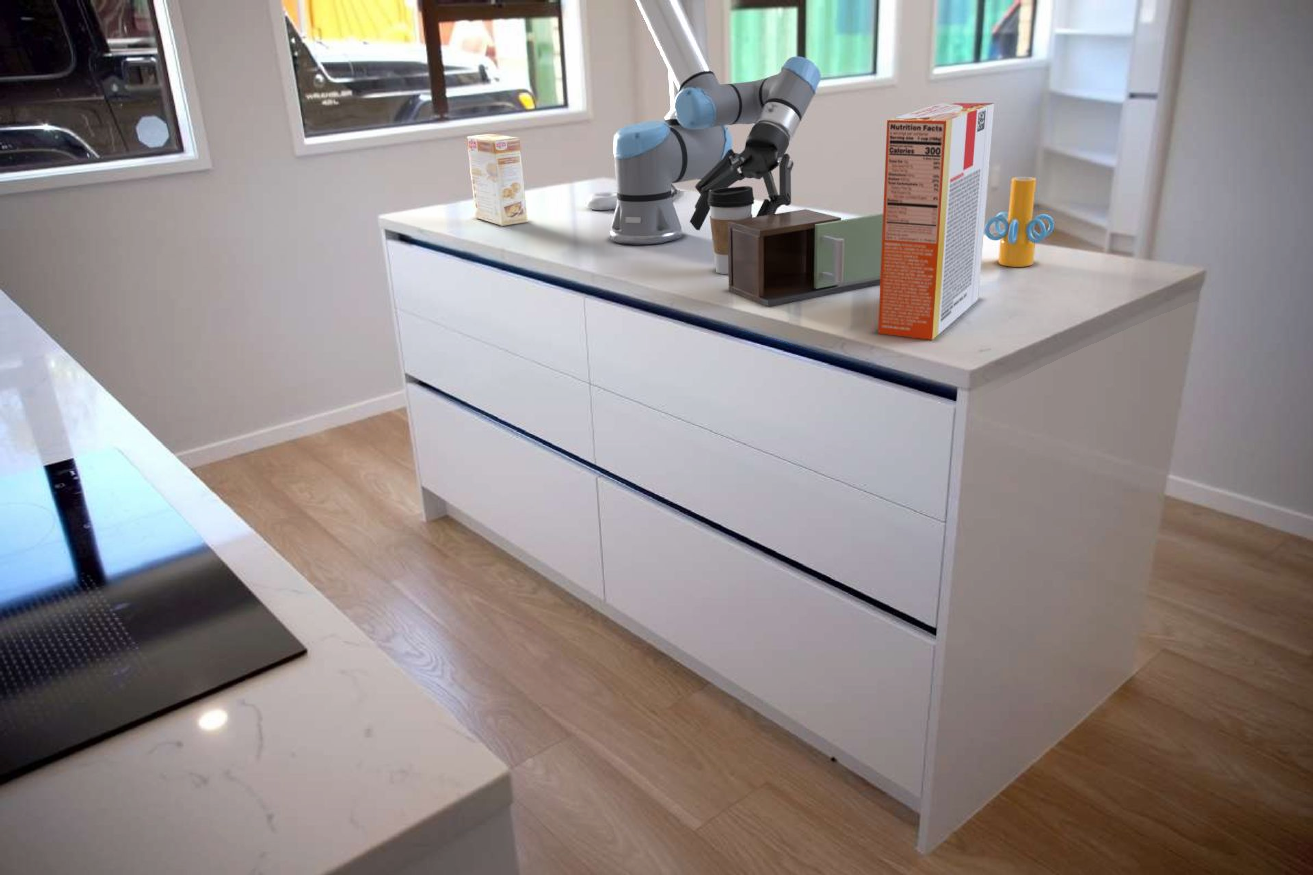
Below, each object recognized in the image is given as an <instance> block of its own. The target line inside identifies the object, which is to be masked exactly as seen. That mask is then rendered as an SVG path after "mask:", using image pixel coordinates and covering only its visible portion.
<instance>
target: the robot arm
mask: <svg viewBox="0 0 1313 875" xmlns="http://www.w3.org/2000/svg"><path fill="white" fill-rule="evenodd" d="M635 1H636V4H637V6H638V8H639V10H640V12H641V14H642V16H643V18H644V20H645V23H646V25H647V27H648V30H649V31H650V34H651V35H652V37H653V40H654V42H655V45H656V46H657V49H658V51H659V53H660V55H661V58H662V59H663V61H664V64H665V66H666V68H667V69H668V84H669V96H670V97H669V98H670V109H669V111H668V112H667V114H665V115H664V121H663V120H651V121H645V122H637V123H633V124H629V125H627V126H623V127H622V128H619V129H618V130H617V131H616V132H615V134H614V136H613V152H612V154H613V157H614V172H615V189H616V192H617V206H616V209H614V214H613V219H612V222H611V227H610V229H609V230H610V240H611V241H612V242H614V243H617V244H622V245H634V246H635V245H638V246H641V245H642V246H644V245H645V246H646V245H658V244H663V243H664V244H665V243H669V242H673V241H676V240H679V239H680V238H681V237H682V234H683V233H682V225H681V222H680V219H679V216H678V214H677V210H676V208H675V205H674V203H673V199H672V198H674V197H675V196H676V195H677V193H678V190H677V188H676V187H675V186H674V184H677V183H682V182H683V183H684V182H689V181H695V180H699V181H698V182H697V183H696V184H695V186H694V188H695V189H696V191H697V192H698V193H699V197H698V199H697V201H696V202H695V205H694V209H695V210H694V211H693V214H692V216H691V218H690V220H689V223H690V225H691V226H692V227H693V228H694V229H695V231H700V230H701V228H702V226H703V224H704V223H705V220H706V218H707V216H708V214H709V212H710V206H709V205H708V201H707V200H708V196H709V191H711V190H714V189H720V188H730V186H731V187H732V185H733V184H735V183H737V182H738V181H743V180H744V179H745V178H746V179H755V180H761V179H762V180H763V182H764V185H765V189H766V192H767V195H768V196H767V197H768V198H769V199H768V198H764V199H763V202H762V203H761V206H760V208H759V210H758V212H757V213H756V215H755V217H759V216H765V215H772V214H777V210H778V209H779V208H780V207H781V206H783V205H785V206H787V207H789V206H790V205H791V204H792V174H791V173H792V171H793V167H794V163H795V162H794V161H793V160H792V157H791V156H790V154H788V153H786V152H787V150H788V149H789V145H790V143H791V142H792V141H793V138H794V136H795V134H796V132H797V130H798V128H799V125H800V123H801V121H802V120H803V117H804V115H805V113H806V112H807V110H808V108H809V106H810V104H811V103H812V101H813V98H814V96H815V95H816V91H817V89H818V86H819V84H820V82H821V77H822V74H821V71H820V69H819V67H818V66H816V64H815V63H814V62H813V61H811V60H810V59H808V58H806V57H803V56H797V55H795V56H791V57H789V58H788V59H787V60H786V61H785V62H784V64H783V66H781V69H780V71H779V73H777V74H773V75H771V76H768V77H765V78H761V79H758V80H753V81H743V82H734V83H733V82H732V83H724V84H723V83H722V84H721V83H719V80H718V78H717V76H716V74H715V73H714V71H713V68H712V66H711V64H710V61H709V45H708V27H707V12H706V0H635ZM752 124H754V125H753V126H752V127H751V129H750V131H749V133H748V136H747V137H746V139H745V144H744V149H743V150H742V151H741V152H740V153H738V152H735V151H734V150H733V140H732V135H731V132H730V131H729V130H728V127H727V126H733V125H752ZM778 167H779V168H778ZM777 168H778V169H779V172H778V174H779V175H778V176H779V180H778V181H779V187H778V188H779V192H778V189H777V187H776V183H775V178H774V176H773V173H772V172H773V171H774V170H775V169H777ZM739 170H740V172H739ZM672 191H673V192H672Z"/></svg>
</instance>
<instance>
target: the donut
mask: <svg viewBox="0 0 1313 875" xmlns="http://www.w3.org/2000/svg"><path fill="white" fill-rule="evenodd" d="M586 204H587V207H588V208H589V209H592V210H594V211H612V210H616V206H617V191H601V192H595V193H592V194H590V195H589V196H588V197H587V198H586Z"/></svg>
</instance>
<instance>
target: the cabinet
mask: <svg viewBox="0 0 1313 875" xmlns="http://www.w3.org/2000/svg"><path fill="white" fill-rule="evenodd" d="M839 220H842V217H839V216H835V215H831V214H828V213H824V212H823V213H822V212H818V211H815V210H811V209H807V208H805V209H798V210H792V211H786V212H778V213H775V214H772V215H765V216H759V217H756V216H752V218H746V219H740V220H733V221H728V274H727V275H728V292H730V293H733V294H735V295H738V296H740V297H743V298H745V299H748V300H750V301H752V302H755V303H758V304H760V305H763V306H765V307H767V308H768V307H769V308H770V307H774V306H778V305H783V304H789V303H794V302H799V301H803V300H808V299H809V300H810V299H814V298H818V297H824V296H829V295H833V294H839V293H843V292H848V291H853V290H858V289H864V288H868V287H873V286H874V287H875V286H880V278H881V276H879V277H874V278H869V279H864V280H859V281H854V282H849V283H844V284H839V285H834V286H828V287H823V288H818V289H816V288H814V254H815V224H821V223H827V222H833V221H839Z"/></svg>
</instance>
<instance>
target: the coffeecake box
mask: <svg viewBox="0 0 1313 875" xmlns="http://www.w3.org/2000/svg"><path fill="white" fill-rule="evenodd" d="M520 139H521V138H520V137H518V136H517V137H516V136H510V135H502V134H495V133H485V134H484V133H483V134H475V135H467V136H466V144H467V153H468V160H469V169H470V170H469V172H470V179H471V188H472V196H473V205H474V213H475V219H479V220H482V221H486V222H489V223H492V224H494V225H498V226H502V227H505V226H512V225H518V224H524V223H528V222H529V221H528V214H527V204H526V203H527V201H526V193H525V180H524V171H523V161H522V152H521V150H522V149H521V142H520V141H521V140H520Z"/></svg>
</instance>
